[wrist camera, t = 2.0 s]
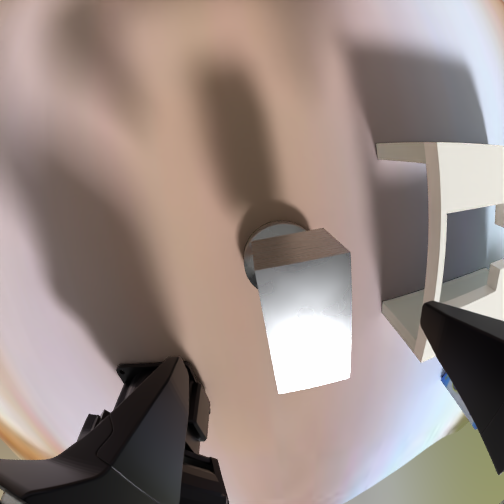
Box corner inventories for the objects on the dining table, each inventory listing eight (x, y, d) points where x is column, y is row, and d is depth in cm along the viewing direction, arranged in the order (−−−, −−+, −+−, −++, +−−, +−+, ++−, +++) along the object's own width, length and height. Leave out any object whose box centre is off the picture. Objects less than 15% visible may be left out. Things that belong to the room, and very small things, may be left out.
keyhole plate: (381, 312, 18) (420, 362, 13) (375, 143, 14) (436, 142, 9) (483, 277, 18) (525, 306, 13) (488, 144, 14) (542, 151, 9)
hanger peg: (252, 302, 18) (261, 396, 10) (235, 217, 16) (231, 274, 8) (319, 289, 17) (364, 373, 10) (309, 204, 16) (370, 248, 8)
